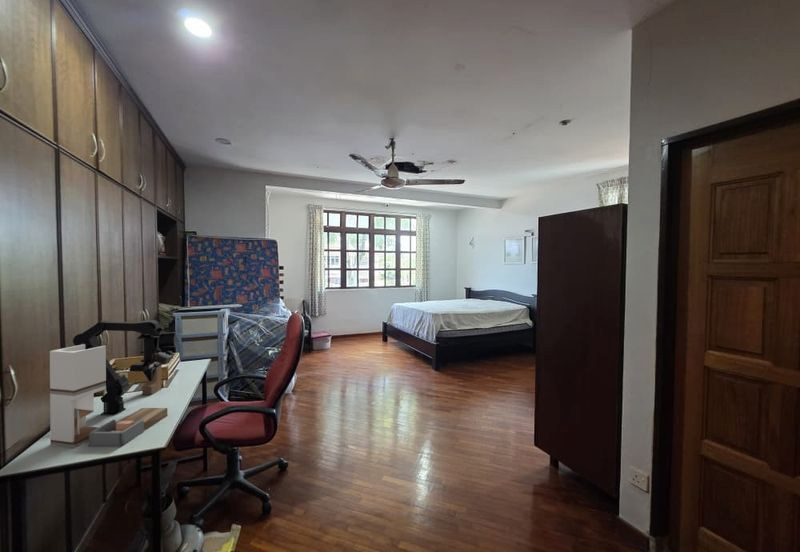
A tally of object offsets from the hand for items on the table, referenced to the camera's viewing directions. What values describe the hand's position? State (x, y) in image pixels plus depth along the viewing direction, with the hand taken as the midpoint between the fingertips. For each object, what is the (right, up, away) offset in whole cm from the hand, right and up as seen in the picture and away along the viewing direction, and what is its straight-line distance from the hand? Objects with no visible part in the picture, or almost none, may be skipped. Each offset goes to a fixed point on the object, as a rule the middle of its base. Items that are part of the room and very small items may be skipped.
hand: (150, 381), depth 159 cm
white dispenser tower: (-7, -14, -28) cm, 32 cm away
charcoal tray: (+7, -14, -28) cm, 32 cm away
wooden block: (-15, -13, +21) cm, 28 cm away
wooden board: (+7, -13, -15) cm, 21 cm away
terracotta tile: (+8, -11, -24) cm, 28 cm away
